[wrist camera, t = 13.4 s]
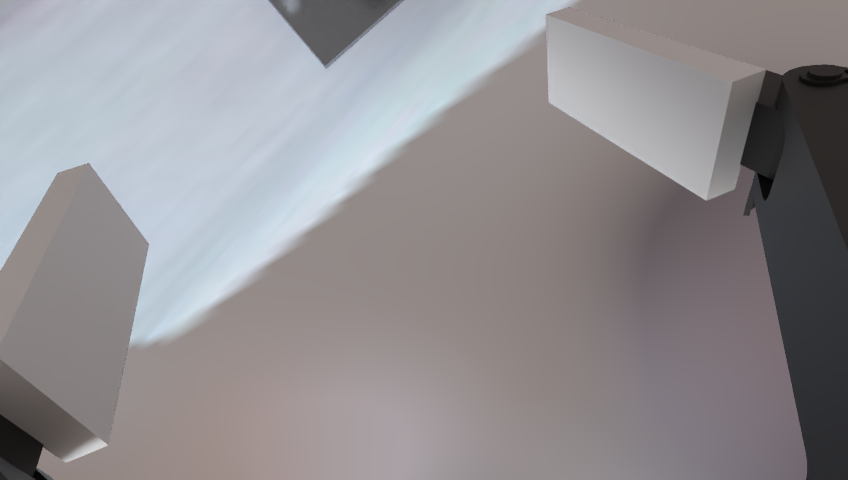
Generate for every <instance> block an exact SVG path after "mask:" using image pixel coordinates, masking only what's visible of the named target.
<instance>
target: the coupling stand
mask: <svg viewBox="0 0 848 480" xmlns="http://www.w3.org/2000/svg"><path fill="white" fill-rule="evenodd" d="M268 1H269V2H270V3H271V4H272V5H273V6H274V8H275V9H276V10H277V11H278V12H279V14H280V15H281V16H282V17H283V18H284V19H285V21H286V22H287V23H288V24H289V25H290V27H291V28H292V29H293V30H294V31H295V33H296V34H297V35H298V36H299V37H300V38H301V40H302V41H303V42H304V43H305V44H306V46H307V47H308V48H309V49H310V50H311V51H312V53H313V54H314V55H315V56H316V57H317V59H318V60H319V61H320V62H321V63H322V64H323V66H324V67H325V68H328V67H329V66H330V65H331V64H332V63H333V62H334V61H336V60H337V59H338V58H339V57H340V56H341V55H342V54H344V53H345V52H346V51H347V50H348V49H349V48H350V47H351V46H353V45H354V44H355V43H356V42H357V41H358V40H359V39H361V38H362V37H363V36H364V35H365V34H366V33H367V32H369V31H370V30H371V29H372V28H373V27H374V26H375V25H376V24H378V23H379V22H380V21H381V20H382V19H383V18H384V17H386V16H387V15H388V14H389V13H390V12H391V11H392V10H394V9H395V8H396V7H397V6H398V5H399V4H400V3H401V2H403V1H404V0H268Z"/></svg>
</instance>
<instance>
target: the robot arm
mask: <svg viewBox="0 0 848 480" xmlns="http://www.w3.org/2000/svg"><path fill="white" fill-rule="evenodd" d="M546 28H547V60H548V88H549V89H548V92H549V102H550V103H551V104H552V105H554V106H556V107H557V108H559V109H560V110H562V111H564V112H565V113H567V114H568V115H570V116H572V117H573V118H575V119H576V120H578V121H579V122H581V123H583V124H584V125H586V126H587V127H589V128H591V129H592V130H594V131H595V132H597V133H599V134H600V135H602V136H603V137H605V138H607V139H608V140H610V141H612V142H613V143H615V144H616V145H618V146H620V147H621V148H623V149H624V150H626V151H628V152H629V153H631V154H632V155H634V156H636V157H637V158H639V159H640V160H642V161H644V162H645V163H647V164H648V165H650V166H652V167H653V168H655V169H656V170H658V171H660V172H661V173H663V174H664V175H666V176H668V177H669V178H671V179H672V180H674V181H676V182H678V183H679V184H680V185H682V186H684V187H685V188H687V189H688V190H690V191H692V192H693V193H695V194H696V195H698V196H700V197H701V198H703V199H704V200H709V199H712V198H714V197H717V196H719V195H722V194H724V193H726V192H729V191H731V190H734V189H735V186H736V183H737V179H738V175H739V171H740V167H741V165H743V166H745V167H747V168H749V169H751V170H753V171H755V175H754V178H753V182H752V186H751V189H750V193H749V196H748V199H747V203H746V206H745V210H744V215H747V216H749V214H750V211H751V209H753V208H754V207H755V208H756V213H757V217H758V223H759V228H760V233H761V237H762V242H763V247H764V251H765V257H766V261H767V267H768V271H769V276H770V281H771V286H772V291H773V296H774V300H775V305H776V310H777V315H778V320H779V325H780V330H781V335H782V339H783V344H784V349H785V354H786V359H787V363H788V369H789V373H790V377H791V383H792V388H793V393H794V398H795V402H796V407H797V412H798V417H799V422H800V426H801V432H802V437H803V441H804V446H805V451H806V458H807V478H806V480H848V68H846V67H839V66H835V65H812V66H802V67H798V68H795V69H792V70H789V71H788V72H786V73H785V74H784V75H780V74H776V73H773V72H770V71H767V70H766V69H763V68H760V67H756V66H753V65H750V64H747V63H744V62H741V61H738V60H734V59H731V58H728V57H725V56H721V55H719V54H715V53H712V52H709V51H706V50H703V49H700V48H696V47H693V46H690V45H687V44H684V43H681V42H678V41H674V40H671V39H668V38H665V37H662V36H659V35H655V34H652V33H649V32H646V31H643V30H640V29H636V28H633V27H630V26H627V25H624V24H620V23H617V22H614V21H611V20H608V19H605V18H602V17H598V16H595V15H592V14H589V13H586V12H583V11H579V10H576V9H573V8H570V7H568V8H565V9H562V10H559V11H556V12H553V13H550V14H547V15H546ZM148 246H149V244H148V242H147V241H146V240H145V238H144V237H143V236H142V234H141V233H140V231H139V230H138V229H137V227H136V226H135V225H134V223H133V222H132V221H131V219H130V218H129V217H128V215H127V214H126V213H125V211H124V210H123V209H122V207H121V206H120V205H119V203H118V202H117V200H116V199H115V198H114V196H113V195H112V194H111V192H110V191H109V190H108V188H107V187H106V186H105V184H104V183H103V182H102V180H101V179H100V178H99V176H98V175H97V173H96V172H95V171H94V169H93V168H92V167H91V165H90V164H89V163H87V164H84V165H81V166H78V167H75V168H72V169H69V170H66V171H63V172H60V173H57V175H56V177H55V179H54V180H53V182H52V184H51V185H50V187H49V189H48V191H47V192H46V194H45V196H44V197H43V199H42V201H41V203H40V204H39V206H38V208H37V209H36V211H35V213H34V215H33V216H32V218H31V220H30V222H29V223H28V225H27V227H26V228H25V230H24V232H23V234H22V235H21V237H20V239H19V240H18V242H17V244H16V246H15V247H14V249H13V251H12V252H11V254H10V256H9V258H8V259H7V261H6V263H5V264H4V266H3V268H2V270H1V271H0V480H53V479H52V478H51V477H50V476H49V475H47V474H45V473H44V472H42V471H41V470H39V469H38V468H36V467H37V464H38V461H39V458H40V454H41V451H42V448H43V447H44V448H45V449H47V450H48V451H50V452H51V453H53V454H54V455H55V456H57V457H58V458H60V459H61V460H63V461H64V462H69V461H71V460H73V459H76V458H78V457H81V456H83V455H86V454H88V453H90V452H93V451H95V450H98V449H100V448H102V447H105V446H107V445H109V440H110V435H111V430H112V425H113V420H114V415H115V410H116V405H117V400H118V395H119V390H120V385H121V380H122V375H123V370H124V365H125V360H126V355H127V350H128V345H129V341H130V336H131V331H132V326H133V321H134V316H135V311H136V306H137V301H138V296H139V291H140V286H141V281H142V276H143V271H144V266H145V261H146V256H147V251H148Z"/></svg>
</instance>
